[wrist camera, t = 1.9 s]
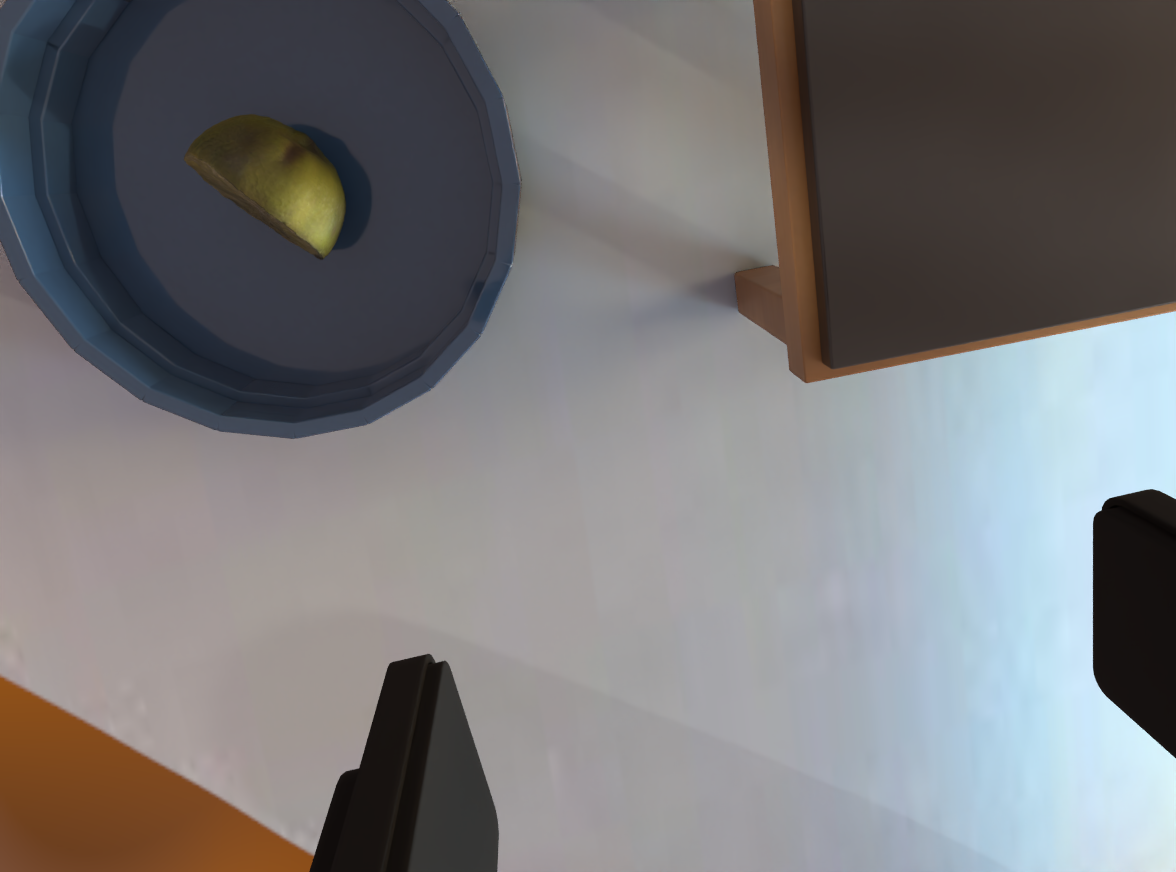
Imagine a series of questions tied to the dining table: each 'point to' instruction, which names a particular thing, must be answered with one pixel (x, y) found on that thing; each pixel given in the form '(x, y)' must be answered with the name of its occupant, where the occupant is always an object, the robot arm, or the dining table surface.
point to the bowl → (228, 233)
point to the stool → (962, 174)
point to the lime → (274, 178)
